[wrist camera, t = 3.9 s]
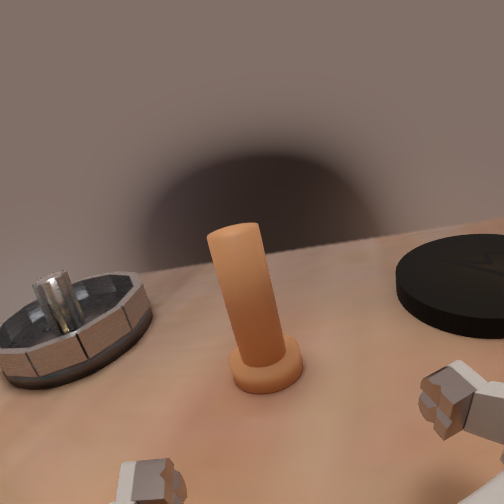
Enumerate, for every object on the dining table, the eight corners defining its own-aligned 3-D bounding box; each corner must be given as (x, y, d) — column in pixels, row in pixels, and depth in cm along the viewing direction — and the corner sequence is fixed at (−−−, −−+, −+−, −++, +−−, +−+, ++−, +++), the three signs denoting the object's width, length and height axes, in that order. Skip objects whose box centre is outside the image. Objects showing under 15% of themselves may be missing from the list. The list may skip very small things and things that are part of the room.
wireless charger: (387, 262, 35) (385, 245, 34) (518, 243, 29) (518, 227, 28) (411, 360, 19) (413, 336, 18) (599, 315, 13) (604, 292, 12)
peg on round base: (253, 404, 18) (207, 250, 15) (223, 369, 23) (182, 238, 20) (316, 370, 20) (290, 222, 17) (279, 342, 24) (250, 216, 22)
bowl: (-11, 408, 20) (-50, 339, 18) (21, 330, 37) (1, 283, 35) (169, 345, 27) (141, 267, 25) (139, 286, 45) (123, 237, 43)
